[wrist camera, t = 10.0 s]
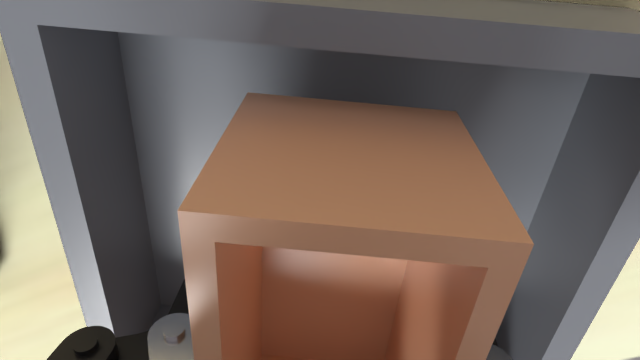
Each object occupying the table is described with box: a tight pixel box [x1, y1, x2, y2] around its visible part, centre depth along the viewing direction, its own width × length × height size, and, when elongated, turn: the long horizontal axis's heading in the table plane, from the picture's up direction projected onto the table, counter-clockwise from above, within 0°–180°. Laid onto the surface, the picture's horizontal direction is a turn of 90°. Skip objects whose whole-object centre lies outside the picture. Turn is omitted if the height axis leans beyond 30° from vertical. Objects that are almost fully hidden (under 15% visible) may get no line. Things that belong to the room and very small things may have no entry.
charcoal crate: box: [0, 0, 640, 360], centre depth 16 cm, size 16×18×5 cm
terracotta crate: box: [177, 92, 534, 360], centre depth 13 cm, size 11×6×6 cm, turn 176°
